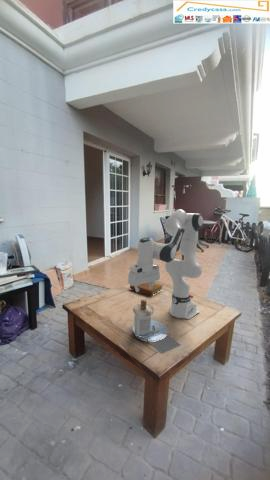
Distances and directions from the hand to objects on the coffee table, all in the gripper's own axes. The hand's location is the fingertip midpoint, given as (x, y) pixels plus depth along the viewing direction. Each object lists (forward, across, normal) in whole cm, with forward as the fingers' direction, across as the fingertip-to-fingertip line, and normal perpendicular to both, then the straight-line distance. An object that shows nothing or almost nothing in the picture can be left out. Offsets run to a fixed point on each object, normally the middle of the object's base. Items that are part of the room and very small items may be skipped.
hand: (144, 289), depth 125 cm
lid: (+13, 0, 0) cm, 13 cm away
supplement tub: (+28, 0, 0) cm, 28 cm away
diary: (+29, -42, -53) cm, 74 cm away
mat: (+27, -4, +13) cm, 31 cm away
